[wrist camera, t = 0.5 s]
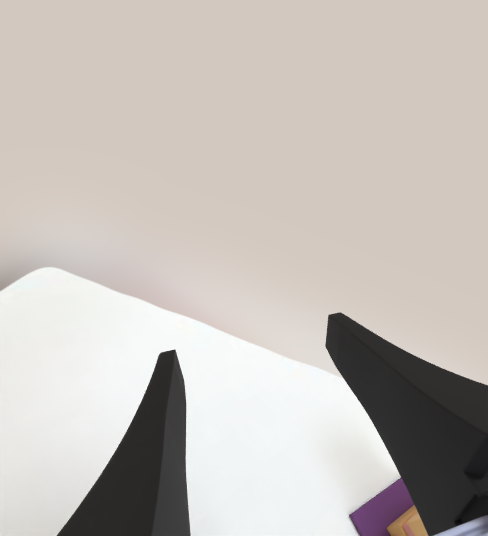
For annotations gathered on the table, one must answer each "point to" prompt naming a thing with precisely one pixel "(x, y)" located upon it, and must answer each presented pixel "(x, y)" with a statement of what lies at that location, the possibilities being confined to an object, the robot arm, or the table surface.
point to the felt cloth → (382, 510)
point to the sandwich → (408, 524)
